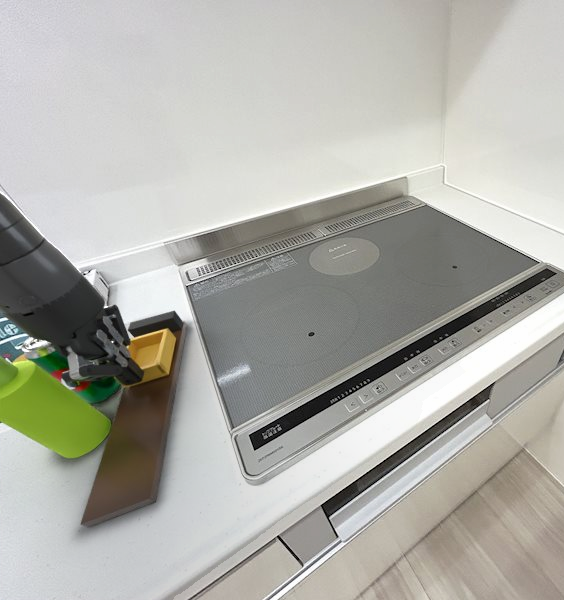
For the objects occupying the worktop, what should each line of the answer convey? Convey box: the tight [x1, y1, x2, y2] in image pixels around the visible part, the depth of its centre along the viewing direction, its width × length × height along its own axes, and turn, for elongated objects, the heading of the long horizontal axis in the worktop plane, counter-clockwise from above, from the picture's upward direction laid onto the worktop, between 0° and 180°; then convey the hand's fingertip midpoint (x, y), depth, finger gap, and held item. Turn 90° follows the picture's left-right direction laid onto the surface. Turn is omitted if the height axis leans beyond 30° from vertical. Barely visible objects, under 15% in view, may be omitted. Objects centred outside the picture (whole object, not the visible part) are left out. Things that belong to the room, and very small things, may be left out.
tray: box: [114, 328, 176, 388], centre depth 52 cm, size 8×6×3 cm
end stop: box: [127, 310, 184, 338], centre depth 57 cm, size 2×7×3 cm, turn 110°
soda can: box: [20, 336, 121, 404], centre depth 47 cm, size 5×5×12 cm
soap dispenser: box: [0, 355, 112, 459], centre depth 39 cm, size 6×7×20 cm
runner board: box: [80, 320, 188, 528], centre depth 48 cm, size 31×7×1 cm, turn 20°
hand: (136, 379), depth 48 cm, fingers closed
